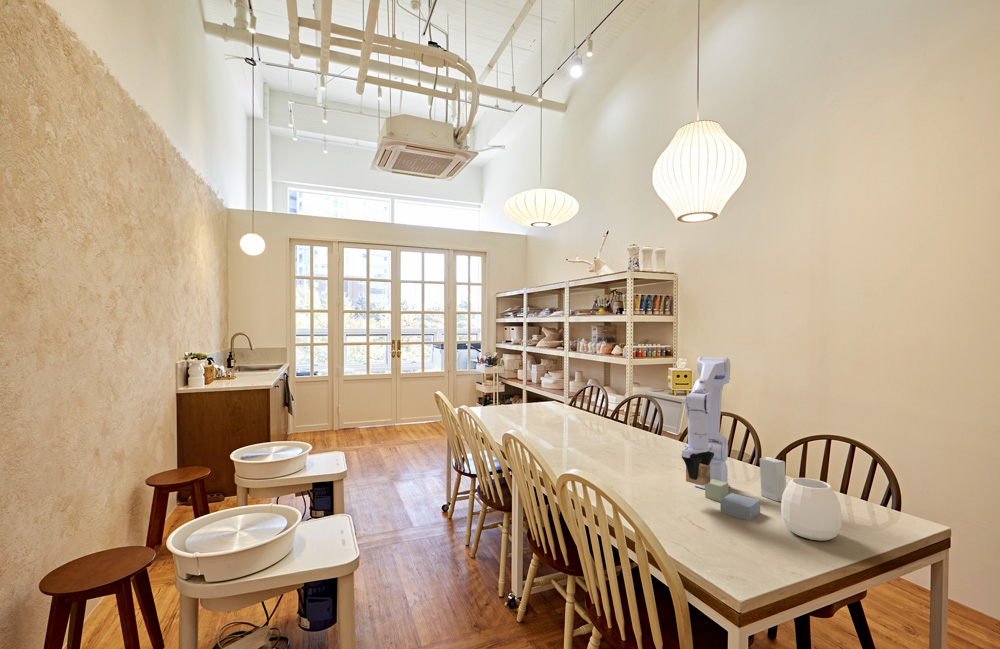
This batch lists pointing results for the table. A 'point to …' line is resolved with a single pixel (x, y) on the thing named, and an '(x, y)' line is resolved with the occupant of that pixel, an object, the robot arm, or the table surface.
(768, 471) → the skincare box
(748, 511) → the slate block
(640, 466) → the table surface
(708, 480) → the walnut cube
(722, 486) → the olive cube
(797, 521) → the white round vase
